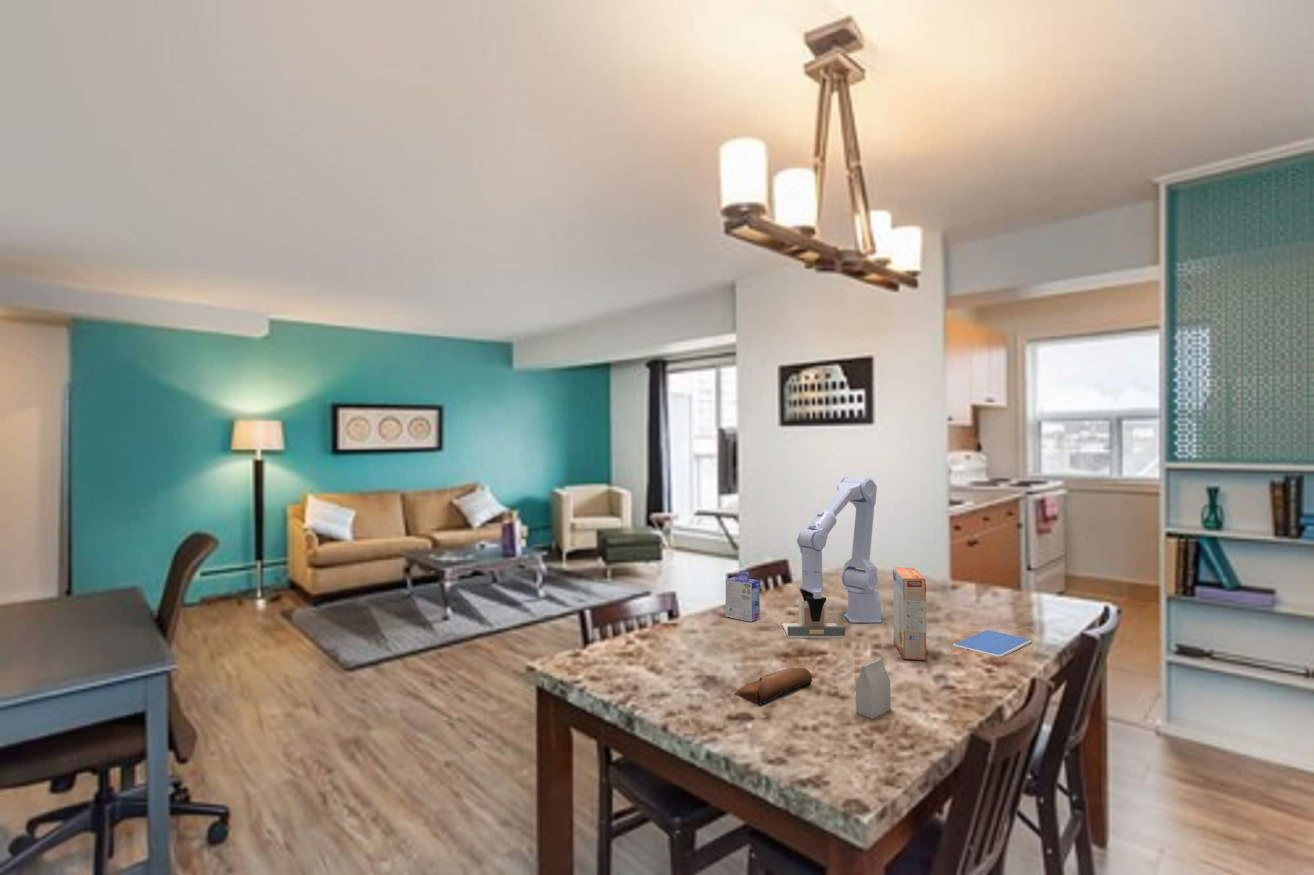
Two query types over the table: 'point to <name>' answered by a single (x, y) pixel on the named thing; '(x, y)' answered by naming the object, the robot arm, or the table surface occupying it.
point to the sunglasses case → (774, 685)
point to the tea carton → (806, 617)
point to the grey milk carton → (873, 690)
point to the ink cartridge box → (743, 598)
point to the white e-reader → (814, 631)
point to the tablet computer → (993, 643)
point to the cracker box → (909, 613)
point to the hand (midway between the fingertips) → (812, 617)
